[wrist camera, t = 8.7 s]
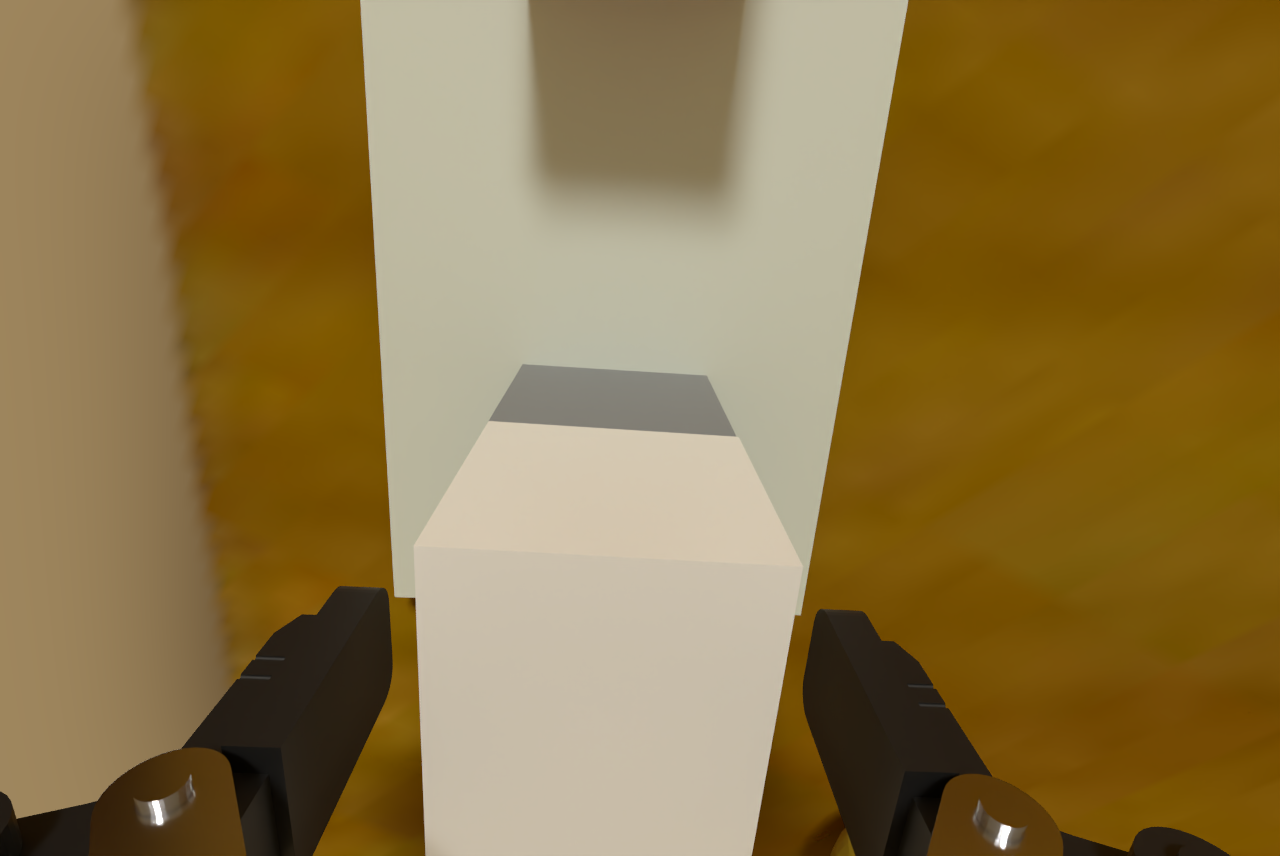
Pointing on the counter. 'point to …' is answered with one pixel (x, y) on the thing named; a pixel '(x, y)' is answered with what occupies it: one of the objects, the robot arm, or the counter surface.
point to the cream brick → (600, 645)
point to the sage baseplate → (621, 215)
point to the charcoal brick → (613, 400)
